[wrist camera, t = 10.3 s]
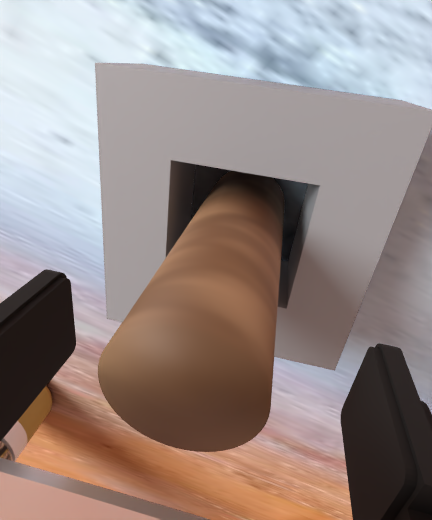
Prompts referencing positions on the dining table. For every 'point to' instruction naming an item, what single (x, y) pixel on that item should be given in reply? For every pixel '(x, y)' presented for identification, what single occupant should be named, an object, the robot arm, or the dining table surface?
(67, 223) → the dining table surface
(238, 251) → the peg
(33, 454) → the dining table surface
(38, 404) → the paper tube
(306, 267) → the socket
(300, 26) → the dining table surface
